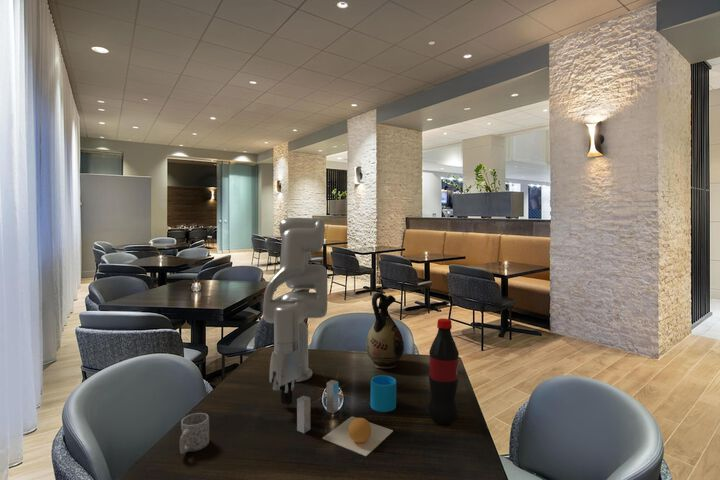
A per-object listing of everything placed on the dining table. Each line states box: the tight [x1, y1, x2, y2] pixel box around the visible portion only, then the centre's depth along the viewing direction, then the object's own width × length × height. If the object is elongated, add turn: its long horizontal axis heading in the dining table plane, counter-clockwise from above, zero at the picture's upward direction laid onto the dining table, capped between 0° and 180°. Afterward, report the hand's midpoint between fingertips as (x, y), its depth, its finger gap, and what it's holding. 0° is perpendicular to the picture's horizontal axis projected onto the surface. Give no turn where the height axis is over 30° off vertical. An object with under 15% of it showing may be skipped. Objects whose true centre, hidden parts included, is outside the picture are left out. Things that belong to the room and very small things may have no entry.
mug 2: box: [369, 375, 397, 413], centre depth 124 cm, size 12×8×8 cm
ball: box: [349, 417, 371, 443], centre depth 102 cm, size 6×6×6 cm
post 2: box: [326, 379, 339, 414], centre depth 118 cm, size 3×3×9 cm
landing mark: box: [322, 416, 394, 457], centre depth 105 cm, size 14×14×1 cm
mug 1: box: [179, 412, 210, 455], centre depth 98 cm, size 10×7×7 cm, turn 174°
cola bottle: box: [427, 317, 459, 425], centre depth 113 cm, size 8×8×30 cm
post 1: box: [296, 395, 311, 434], centre depth 107 cm, size 3×3×9 cm
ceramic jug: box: [365, 292, 405, 370], centre depth 155 cm, size 17×15×30 cm
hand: (286, 403), depth 120 cm, fingers closed
